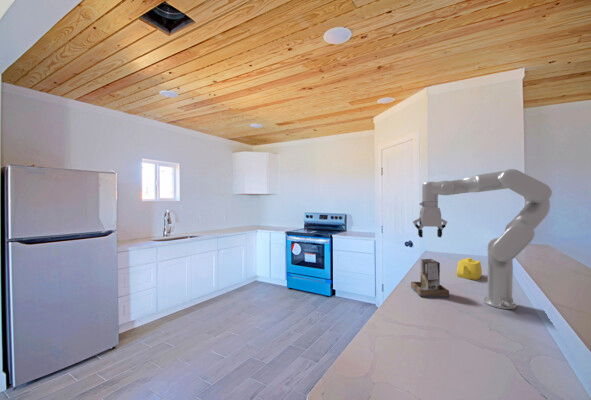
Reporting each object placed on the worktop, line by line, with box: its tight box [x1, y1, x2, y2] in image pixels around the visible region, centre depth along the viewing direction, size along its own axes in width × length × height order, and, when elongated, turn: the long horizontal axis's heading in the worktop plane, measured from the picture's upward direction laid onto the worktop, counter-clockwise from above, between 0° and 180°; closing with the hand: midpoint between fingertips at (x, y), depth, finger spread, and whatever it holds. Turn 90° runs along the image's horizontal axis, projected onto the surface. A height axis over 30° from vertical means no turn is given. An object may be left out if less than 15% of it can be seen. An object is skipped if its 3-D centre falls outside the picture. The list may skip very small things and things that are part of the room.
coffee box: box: [420, 258, 441, 290], centre depth 148 cm, size 9×6×16 cm
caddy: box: [410, 281, 450, 299], centre depth 148 cm, size 14×14×4 cm
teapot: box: [456, 257, 483, 281], centre depth 176 cm, size 20×12×12 cm, turn 134°
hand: (430, 237), depth 147 cm, fingers open, 9 cm apart
